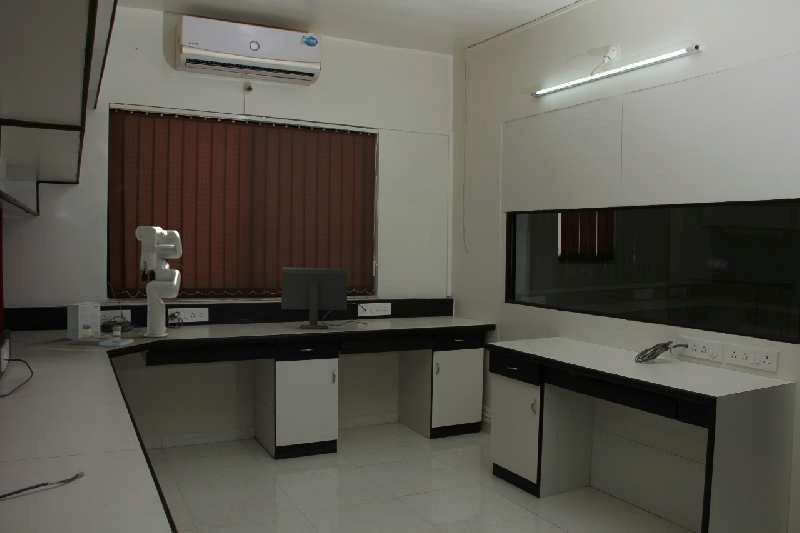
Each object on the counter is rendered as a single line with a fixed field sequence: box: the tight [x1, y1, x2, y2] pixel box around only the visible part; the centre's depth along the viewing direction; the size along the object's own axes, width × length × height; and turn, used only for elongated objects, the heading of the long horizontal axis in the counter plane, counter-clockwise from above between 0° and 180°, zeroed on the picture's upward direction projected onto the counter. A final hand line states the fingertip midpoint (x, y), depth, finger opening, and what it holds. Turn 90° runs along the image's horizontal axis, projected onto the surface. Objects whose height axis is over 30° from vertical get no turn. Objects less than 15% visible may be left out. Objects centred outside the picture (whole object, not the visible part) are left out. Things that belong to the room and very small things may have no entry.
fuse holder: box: [70, 334, 113, 346], centre depth 326 cm, size 16×15×4 cm
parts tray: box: [98, 338, 134, 347], centre depth 323 cm, size 14×11×2 cm
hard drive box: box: [67, 301, 101, 340], centre depth 341 cm, size 16×8×20 cm, turn 160°
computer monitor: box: [280, 266, 349, 330], centre depth 417 cm, size 44×16×40 cm, turn 94°
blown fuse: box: [112, 326, 122, 343], centre depth 323 cm, size 4×4×9 cm
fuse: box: [83, 325, 91, 339], centre depth 326 cm, size 4×4×9 cm
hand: (148, 280), depth 338 cm, fingers open, 9 cm apart
